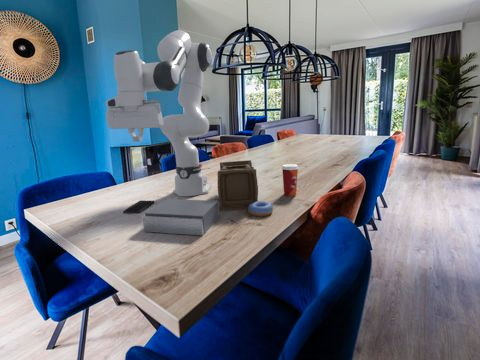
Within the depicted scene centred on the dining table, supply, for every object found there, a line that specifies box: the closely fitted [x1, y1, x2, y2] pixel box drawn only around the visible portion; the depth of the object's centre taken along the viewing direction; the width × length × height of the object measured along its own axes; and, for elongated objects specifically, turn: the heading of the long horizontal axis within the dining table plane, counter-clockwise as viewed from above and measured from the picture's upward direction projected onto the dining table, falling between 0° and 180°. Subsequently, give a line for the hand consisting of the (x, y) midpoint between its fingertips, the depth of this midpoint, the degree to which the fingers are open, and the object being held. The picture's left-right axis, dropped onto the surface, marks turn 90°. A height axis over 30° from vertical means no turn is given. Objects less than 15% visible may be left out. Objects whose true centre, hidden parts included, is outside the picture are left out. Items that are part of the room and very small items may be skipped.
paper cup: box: [281, 163, 299, 197], centre depth 137 cm, size 8×8×14 cm
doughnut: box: [247, 200, 274, 217], centre depth 116 cm, size 10×10×5 cm
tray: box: [141, 215, 205, 236], centre depth 107 cm, size 16×22×6 cm
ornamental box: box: [217, 160, 259, 211], centre depth 136 cm, size 35×18×18 cm, turn 2°
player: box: [144, 198, 220, 235], centre depth 109 cm, size 16×22×6 cm
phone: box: [122, 200, 155, 215], centre depth 130 cm, size 8×1×15 cm
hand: (137, 141), depth 104 cm, fingers closed
